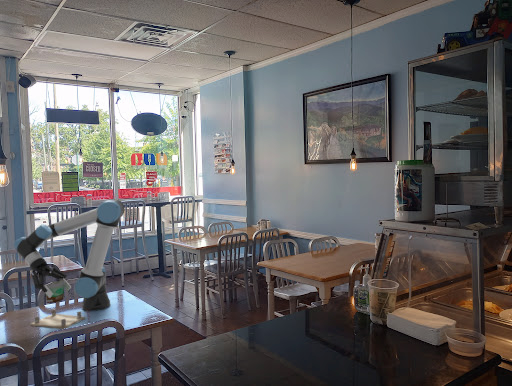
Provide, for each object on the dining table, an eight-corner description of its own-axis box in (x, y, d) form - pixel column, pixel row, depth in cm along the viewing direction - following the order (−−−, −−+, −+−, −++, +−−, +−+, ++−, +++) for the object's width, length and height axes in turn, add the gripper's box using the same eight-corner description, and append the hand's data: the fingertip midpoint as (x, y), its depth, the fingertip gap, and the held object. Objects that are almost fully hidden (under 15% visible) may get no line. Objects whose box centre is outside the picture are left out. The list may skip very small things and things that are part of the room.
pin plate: (53, 315, 221) (53, 308, 221) (85, 318, 215) (84, 311, 214) (31, 325, 207) (30, 317, 206) (64, 329, 200) (63, 321, 200)
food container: (55, 304, 204) (54, 285, 203) (44, 304, 205) (43, 284, 205) (71, 296, 216) (70, 278, 215) (60, 296, 217) (59, 278, 217)
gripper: (50, 261, 225) (73, 290, 221) (12, 272, 202) (38, 304, 198) (57, 252, 223) (81, 281, 220) (20, 262, 200) (46, 294, 197)
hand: (60, 292), depth 209 cm, fingers closed on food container, 12 cm apart
